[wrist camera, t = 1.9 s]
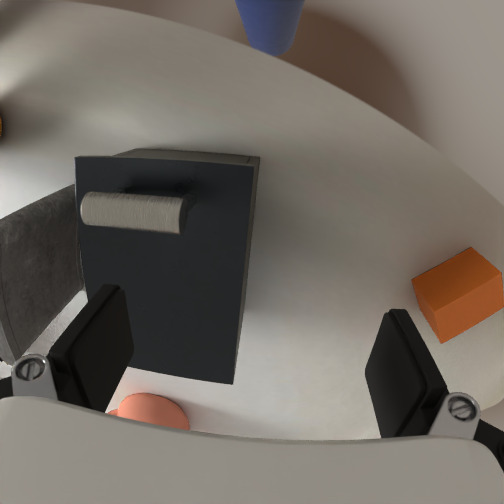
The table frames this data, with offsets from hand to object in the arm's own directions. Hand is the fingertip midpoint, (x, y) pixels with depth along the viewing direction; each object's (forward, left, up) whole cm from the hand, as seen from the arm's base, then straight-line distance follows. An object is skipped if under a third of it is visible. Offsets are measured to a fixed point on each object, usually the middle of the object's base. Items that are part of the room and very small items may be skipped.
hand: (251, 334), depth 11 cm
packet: (+20, +15, -23) cm, 33 cm away
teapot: (+23, -33, -23) cm, 46 cm away
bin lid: (0, -9, -12) cm, 15 cm away
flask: (-6, -23, -23) cm, 33 cm away
